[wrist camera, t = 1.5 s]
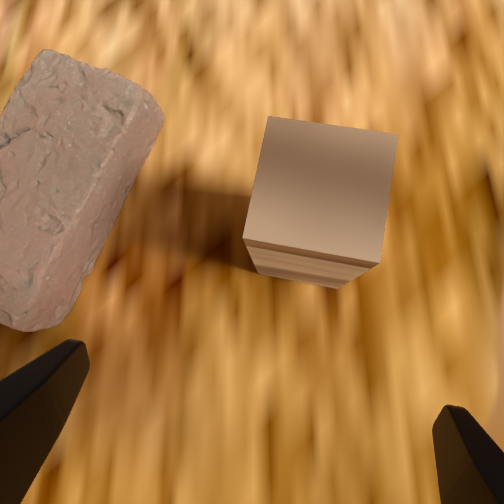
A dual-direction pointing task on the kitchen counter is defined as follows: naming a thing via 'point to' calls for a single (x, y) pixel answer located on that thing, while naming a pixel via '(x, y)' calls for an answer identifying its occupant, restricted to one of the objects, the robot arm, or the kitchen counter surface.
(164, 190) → the kitchen counter surface
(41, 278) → the brick
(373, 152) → the pillar block
